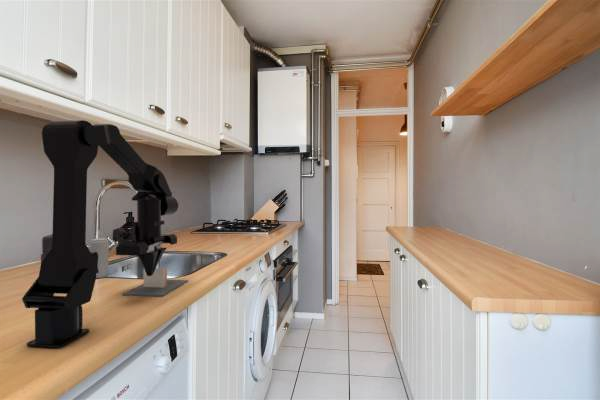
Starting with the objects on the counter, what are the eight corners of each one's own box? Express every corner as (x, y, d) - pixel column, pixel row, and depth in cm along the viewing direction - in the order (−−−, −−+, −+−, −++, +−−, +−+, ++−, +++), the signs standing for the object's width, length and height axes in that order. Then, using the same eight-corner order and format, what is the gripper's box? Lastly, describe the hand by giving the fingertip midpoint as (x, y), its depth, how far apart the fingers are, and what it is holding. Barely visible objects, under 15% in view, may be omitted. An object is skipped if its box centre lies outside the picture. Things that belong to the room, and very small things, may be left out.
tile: (163, 287, 85) (163, 269, 85) (143, 286, 86) (143, 268, 86) (166, 285, 87) (166, 268, 86) (146, 285, 87) (146, 267, 87)
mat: (162, 296, 79) (162, 295, 78) (122, 295, 80) (122, 293, 80) (188, 281, 92) (188, 280, 92) (153, 280, 94) (153, 279, 94)
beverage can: (92, 279, 94) (92, 240, 94) (88, 276, 98) (88, 239, 97) (110, 276, 98) (110, 239, 98) (105, 274, 101) (105, 237, 101)
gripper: (142, 214, 92) (143, 266, 93) (94, 220, 74) (95, 285, 74) (177, 215, 91) (178, 267, 91) (137, 220, 72) (138, 286, 73)
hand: (149, 275), depth 82 cm, fingers closed
